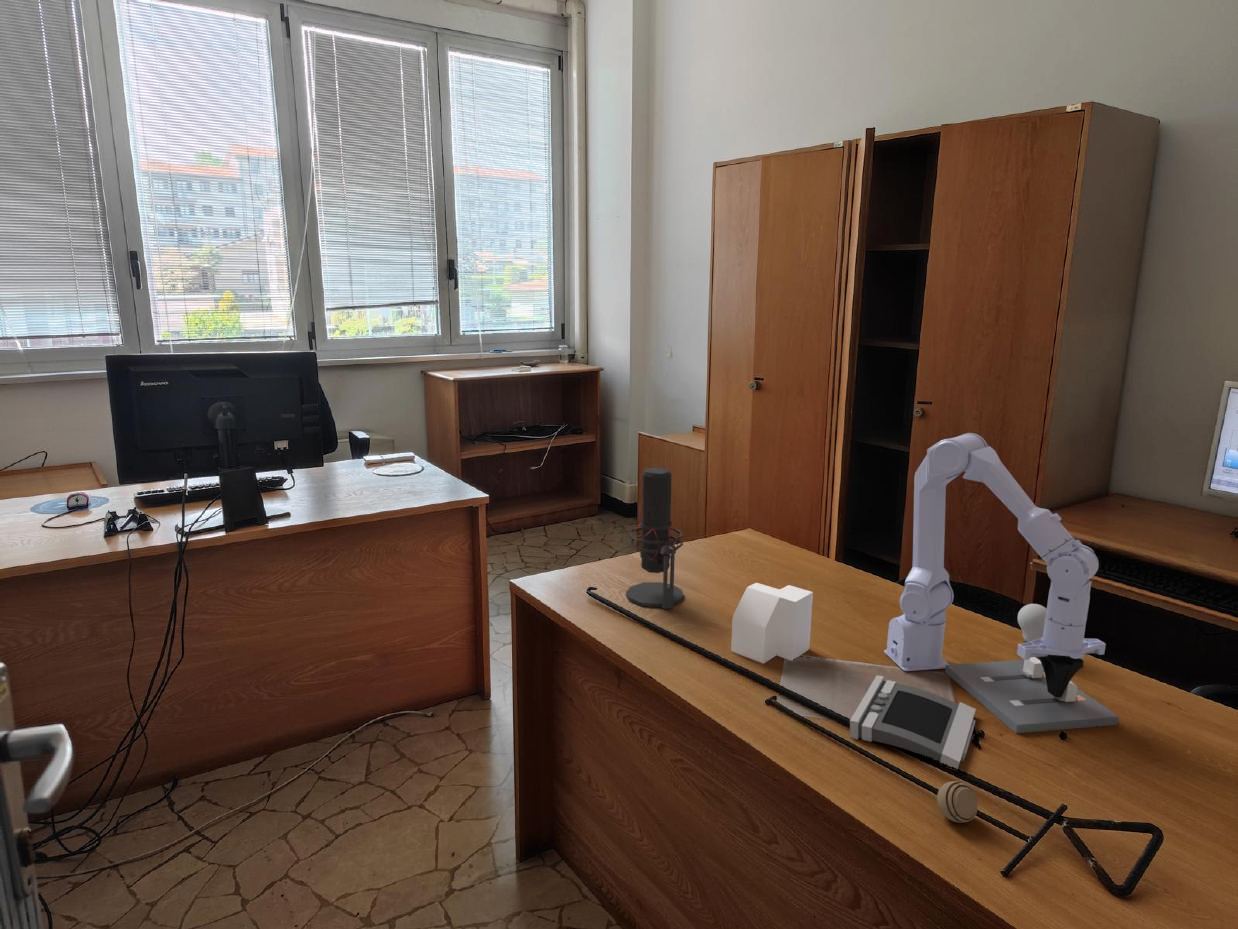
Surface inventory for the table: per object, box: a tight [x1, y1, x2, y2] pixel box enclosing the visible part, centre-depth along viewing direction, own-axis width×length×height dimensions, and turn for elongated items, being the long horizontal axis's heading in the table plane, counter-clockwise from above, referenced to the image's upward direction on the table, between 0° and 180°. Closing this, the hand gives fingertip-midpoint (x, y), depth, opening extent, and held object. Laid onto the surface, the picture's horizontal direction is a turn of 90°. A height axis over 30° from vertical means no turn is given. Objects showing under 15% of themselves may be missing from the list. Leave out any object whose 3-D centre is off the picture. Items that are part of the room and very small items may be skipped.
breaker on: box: [1021, 657, 1044, 678], centre depth 134 cm, size 3×3×3 cm
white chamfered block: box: [730, 582, 814, 664], centre depth 145 cm, size 11×11×12 cm
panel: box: [944, 659, 1119, 734], centre depth 130 cm, size 18×20×2 cm
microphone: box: [625, 467, 685, 610], centre depth 169 cm, size 14×13×30 cm
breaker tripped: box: [1056, 680, 1078, 702], centre depth 126 cm, size 3×3×3 cm
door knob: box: [936, 780, 979, 824], centre depth 99 cm, size 5×5×5 cm
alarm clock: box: [849, 674, 977, 770], centre depth 120 cm, size 17×5×16 cm
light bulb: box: [1017, 603, 1047, 643], centre depth 145 cm, size 6×6×10 cm
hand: (1054, 694), depth 126 cm, fingers closed
